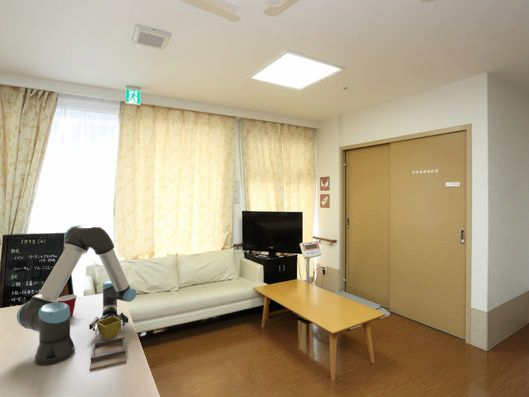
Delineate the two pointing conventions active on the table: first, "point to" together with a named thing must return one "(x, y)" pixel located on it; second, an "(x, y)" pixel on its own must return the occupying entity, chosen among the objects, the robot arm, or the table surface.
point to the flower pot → (109, 327)
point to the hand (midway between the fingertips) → (109, 329)
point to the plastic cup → (68, 302)
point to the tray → (108, 353)
